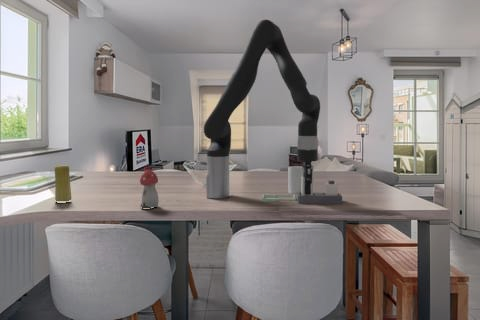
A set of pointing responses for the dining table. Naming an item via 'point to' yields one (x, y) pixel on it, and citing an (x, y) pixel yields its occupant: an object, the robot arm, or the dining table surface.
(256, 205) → the dining table surface
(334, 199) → the grey rectangular frame
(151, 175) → the decorative ornament
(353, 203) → the dining table surface
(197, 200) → the dining table surface
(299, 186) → the mug
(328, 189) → the twin plug
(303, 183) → the plug
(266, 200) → the tray
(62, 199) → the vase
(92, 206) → the dining table surface
